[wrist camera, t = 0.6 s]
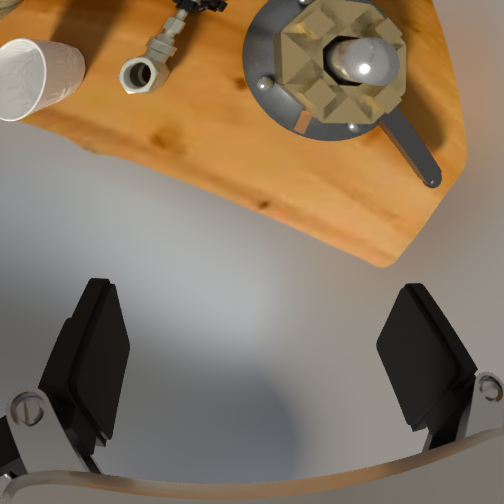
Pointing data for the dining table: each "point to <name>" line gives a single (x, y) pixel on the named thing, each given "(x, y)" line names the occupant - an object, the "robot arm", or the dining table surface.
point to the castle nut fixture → (348, 92)
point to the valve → (162, 49)
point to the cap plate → (266, 67)
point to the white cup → (37, 75)
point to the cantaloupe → (8, 6)
